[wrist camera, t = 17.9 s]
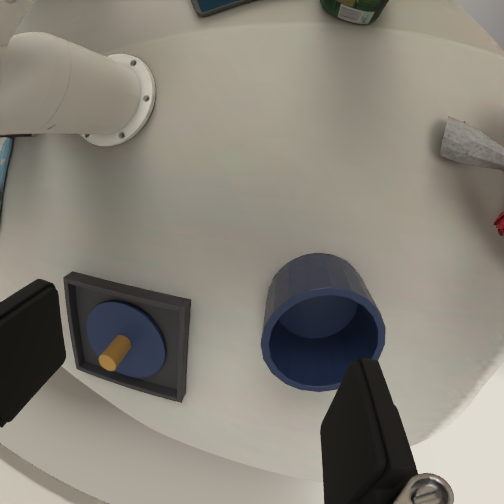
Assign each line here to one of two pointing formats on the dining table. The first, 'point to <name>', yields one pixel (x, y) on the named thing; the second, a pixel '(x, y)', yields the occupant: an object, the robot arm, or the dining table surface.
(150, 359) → the tin lid
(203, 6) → the smartphone
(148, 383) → the tray
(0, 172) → the pen
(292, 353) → the tin
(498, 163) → the bouquet
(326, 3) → the coffee jar
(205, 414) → the dining table surface
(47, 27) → the dining table surface
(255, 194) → the dining table surface
